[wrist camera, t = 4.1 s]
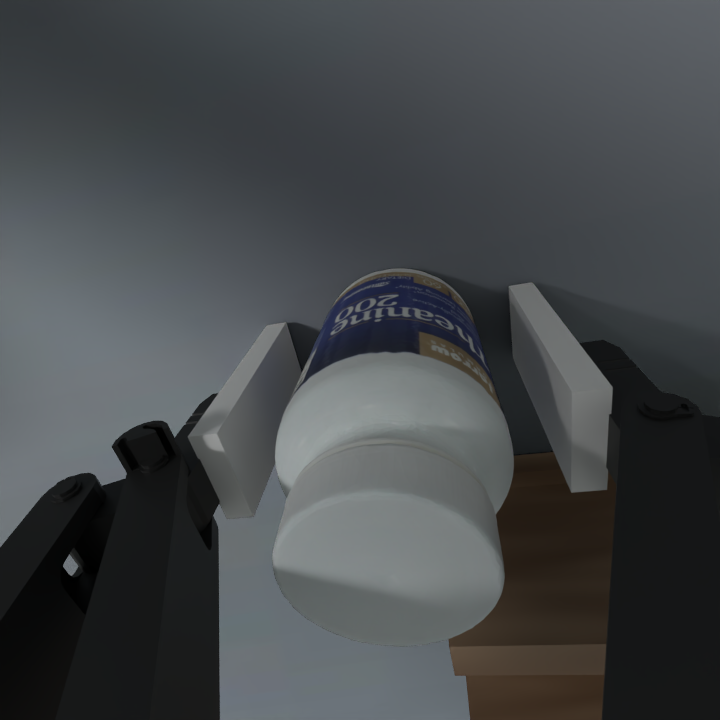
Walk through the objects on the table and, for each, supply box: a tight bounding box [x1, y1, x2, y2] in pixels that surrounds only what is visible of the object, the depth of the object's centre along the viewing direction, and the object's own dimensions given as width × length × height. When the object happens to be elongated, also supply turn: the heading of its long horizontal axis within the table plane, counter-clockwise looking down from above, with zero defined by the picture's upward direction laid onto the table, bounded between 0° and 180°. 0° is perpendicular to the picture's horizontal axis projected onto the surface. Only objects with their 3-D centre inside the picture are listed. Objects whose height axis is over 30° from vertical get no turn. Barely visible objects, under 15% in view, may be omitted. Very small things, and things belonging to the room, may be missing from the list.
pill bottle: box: [272, 268, 514, 647], centre depth 12 cm, size 5×5×10 cm
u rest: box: [449, 452, 616, 720], centre depth 17 cm, size 12×13×7 cm
